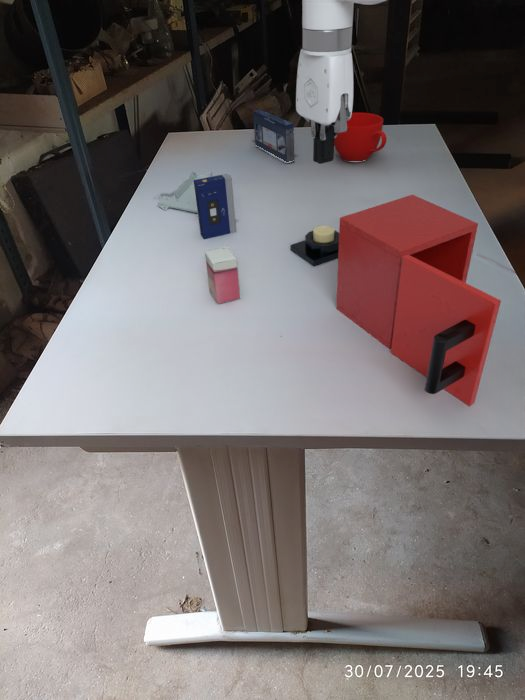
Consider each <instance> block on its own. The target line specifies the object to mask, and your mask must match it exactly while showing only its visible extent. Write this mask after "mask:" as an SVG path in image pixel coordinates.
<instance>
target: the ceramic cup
mask: <svg viewBox="0 0 525 700" xmlns="http://www.w3.org/2000/svg"><path fill="white" fill-rule="evenodd" d="M383 125H384V118H383V117H382V116H380V115H379V114H376V113H370V112H352V115H351V118H350V120H348V121H347V131H345V132H341V133H337V137H336V138H334V150H336V152H337V154H338V155H339V157H340V158H341V159H342V160H343V159H344V160H346V161H363V160H366V159H370V157H372V155H373V154H374V153H377V152H379V151H381V150H383V148H385V146H386V143H387V135H386V132H384V131H383ZM380 140H381V143H380ZM379 143H380V145H379ZM344 160H343V161H344ZM346 161H345V162H346Z"/></svg>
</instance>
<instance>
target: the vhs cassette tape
mask: <svg viewBox="0 0 525 700" xmlns="http://www.w3.org/2000/svg"><path fill="white" fill-rule="evenodd" d="M252 117H253V133H254V145H257V146H259V147H261V148H263V149H264V150H266V151H268V152H270V153H272V154H274V155H275V156H277V157H279V158H281V159H283V160H284V161H286V162H289V161H293V160H296V159H295V133H294V131H295V125H294V123H292V122H291V121H288V120H287V119H286V120H285V119H284V118H281V117H279V116H276V115H274V114H272V113H270V112H267V111H265V110H262V109H256V110H255V109H254V110H252Z"/></svg>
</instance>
